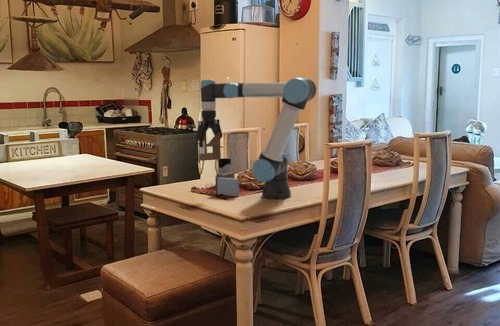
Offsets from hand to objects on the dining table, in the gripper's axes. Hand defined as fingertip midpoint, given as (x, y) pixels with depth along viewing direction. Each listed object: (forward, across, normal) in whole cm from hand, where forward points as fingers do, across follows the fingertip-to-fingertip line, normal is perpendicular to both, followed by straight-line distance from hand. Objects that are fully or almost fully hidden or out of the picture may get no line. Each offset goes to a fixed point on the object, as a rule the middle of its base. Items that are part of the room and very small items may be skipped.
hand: (210, 152), depth 273 cm
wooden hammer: (+4, 0, 0) cm, 4 cm away
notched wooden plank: (+24, -12, -1) cm, 27 cm away
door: (+23, -7, +6) cm, 25 cm away
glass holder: (+24, -30, -19) cm, 43 cm away
